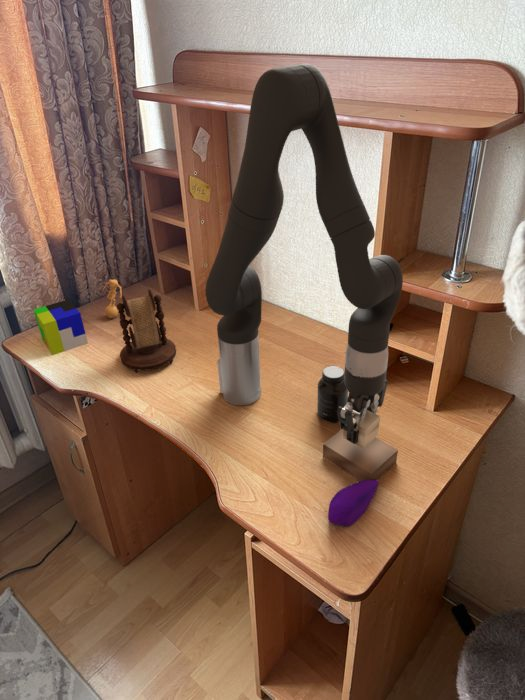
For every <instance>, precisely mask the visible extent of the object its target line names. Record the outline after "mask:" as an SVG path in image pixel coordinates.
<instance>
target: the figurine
mask: <svg viewBox="0 0 525 700" xmlns="http://www.w3.org/2000/svg"><path fill="white" fill-rule="evenodd" d="M108 285H109V291H108V294H107V296H106V298H107V299H108V300H109V301H110V303H109V304H108V305H107V306H106V307H105V310H104V313H105V316H106V317H107V318H109V319H115V318H116V317H117V316H118V315H119V313H118V311H119V310H117V305H115V304H116V299H115V298H116V295H117V293H118V292H117V291H116V289H117V287H118V289H119V296H118V297H119V298H120V299H122V296H123V294H122V291H123V290H122V289H123V288H122V286H121V285H120V284H119V283H118V280H117V279H109V280H108V282H106V284H105V285H104V286H103V289H102V291H104V290H105V289H106V288H107V287H108Z"/></svg>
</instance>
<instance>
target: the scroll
mask: <svg viewBox="0 0 525 700" xmlns="http://www.w3.org/2000/svg"><path fill="white" fill-rule="evenodd" d="M147 292H148V294H147V296H142V297H138V298H132V299H128V300H127V299H126V296H125V294H122V303H121V302H119V303H117V304H116V307H117V310H118V314H119V325H120V328H121V329H122V335H123V337H122V340H123V341H124V344H125V345H124V346H123V347H122V349H121V350H120V353H119V357H120V362H121V364H122V365H123V366H124V367H125V368H128V369H130V370H133V372H134V373H135V374H137V373H138V371H149V370H150V371H151V370H155V369H159V368H161V367H163V366H166V365H168V364H172V363H173V359H174V358H175V357H176V354H177V347H176V345H175V343H174V341H172V340H171V339H169V338H168V337H167V336H166V335H167V333H166V331H167V327H166V326H165V324H166V323H165V322H164V319H165V314H164V311H163V306H162V305H161V304H162V296H161V295H159V294H155V295H154V294H153V293H154V292H153V291H152V290H151V289H150V288H148V291H147ZM155 311H156V312H155ZM125 314H126V315H125ZM126 317H128V318H130V319H127V318H126ZM157 320H158V321H157ZM129 325H130V326H129ZM131 325H132V326H131ZM128 326H129V327H128Z"/></svg>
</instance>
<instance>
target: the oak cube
mask: <svg viewBox="0 0 525 700" xmlns="http://www.w3.org/2000/svg"><path fill="white" fill-rule="evenodd" d="M352 410H353V409H352ZM353 411H354V410H353ZM354 412H356V411H354ZM356 413H358V414H360V413H359V412H356ZM380 418H381V416H380V415H378V414H377V413H376V414H375V413H373V412H371V411H368V410H366V414H365V417H364V419H363V420H361V422H360V426H359V435H358V442H357V443H356V445H358V446H360V447H361V448H363V449H364V448H365V447H367V446H368V445H369V444H370V443H371V442H372V441H373V440H374V439H375V438H377V437H378V436H379V429H380V420H381V419H380ZM355 422H356V420H355V419H354V418H353V423H355ZM343 438H344V439H346V438H347V431H345V430H343ZM346 440H347V439H346Z"/></svg>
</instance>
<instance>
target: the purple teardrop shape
mask: <svg viewBox="0 0 525 700" xmlns="http://www.w3.org/2000/svg"><path fill="white" fill-rule="evenodd" d="M379 481H380V480H365V481H357V482H354V483H352V484H349V485H348V486H345V487H343V488H342V489H340V490H338V491H337V492H336V494H335V495H334V496H333V497H332V498H331V500H330V502H329V506H328V513H327V519H328V521H329V522H330V523H331V524H333V525H335V526H343V527H350V526H353V525H354V523H356V522H357V521H358V520H360V518H361V517H362V516H363V515H364V514H365V512H366V511H367V509H368V508H369V506H370V504H371V502H372V501H373V499H374V497H375V494H376V492H377V490H378V487H379V483H380V482H379Z"/></svg>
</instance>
